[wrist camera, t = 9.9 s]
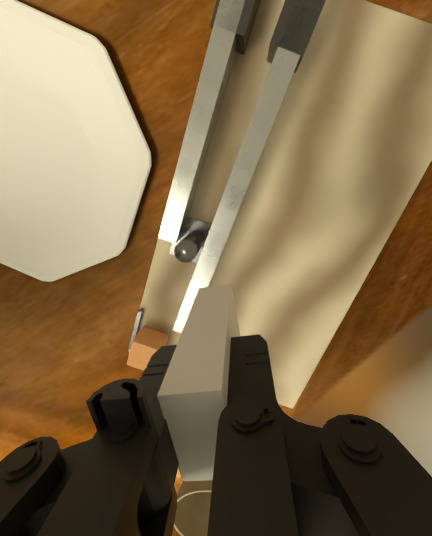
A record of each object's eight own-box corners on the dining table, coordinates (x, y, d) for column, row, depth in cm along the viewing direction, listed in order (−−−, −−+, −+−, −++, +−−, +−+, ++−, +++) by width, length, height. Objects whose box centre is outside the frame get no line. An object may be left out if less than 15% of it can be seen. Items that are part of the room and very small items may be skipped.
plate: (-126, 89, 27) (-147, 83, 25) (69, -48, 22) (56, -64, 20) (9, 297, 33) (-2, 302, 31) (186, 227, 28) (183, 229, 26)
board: (132, 345, 32) (128, 351, 31) (233, -34, 21) (232, -47, 19) (290, 400, 32) (292, 408, 31) (481, 53, 21) (495, 46, 20)
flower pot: (236, 422, 34) (233, 481, 28) (270, 475, 37) (276, 543, 30) (170, 444, 37) (153, 504, 30) (207, 493, 39) (199, 559, 32)
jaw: (174, 312, 29) (166, 327, 26) (289, -1, 20) (296, -32, 17) (195, 321, 29) (190, 336, 26) (320, 11, 20) (332, -17, 17)
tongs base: (131, 344, 31) (113, 370, 27) (227, -20, 20) (222, -73, 16) (175, 360, 31) (164, 388, 27) (296, 4, 20) (309, -42, 16)
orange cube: (137, 347, 31) (126, 364, 28) (143, 325, 30) (132, 341, 27) (162, 356, 31) (153, 374, 28) (169, 334, 30) (161, 351, 27)
